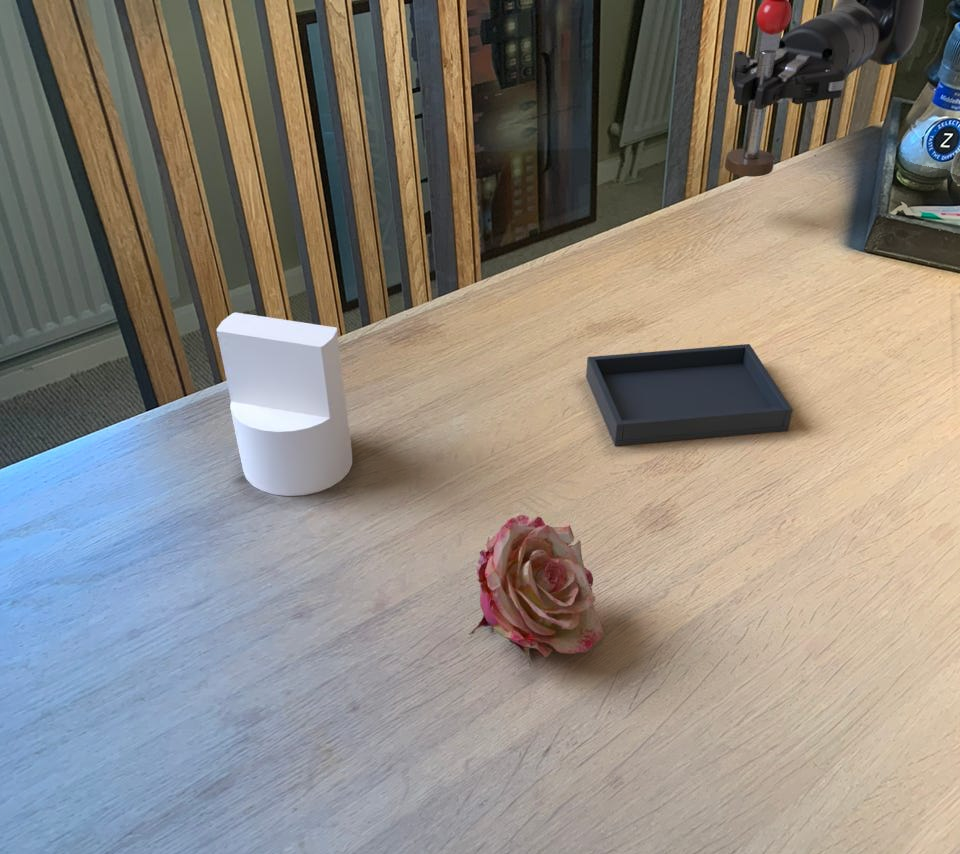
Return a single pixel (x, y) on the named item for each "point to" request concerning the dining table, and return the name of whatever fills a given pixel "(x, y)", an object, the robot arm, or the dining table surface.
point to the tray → (686, 394)
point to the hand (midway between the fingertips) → (749, 96)
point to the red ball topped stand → (751, 159)
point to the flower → (537, 588)
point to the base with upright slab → (286, 403)
